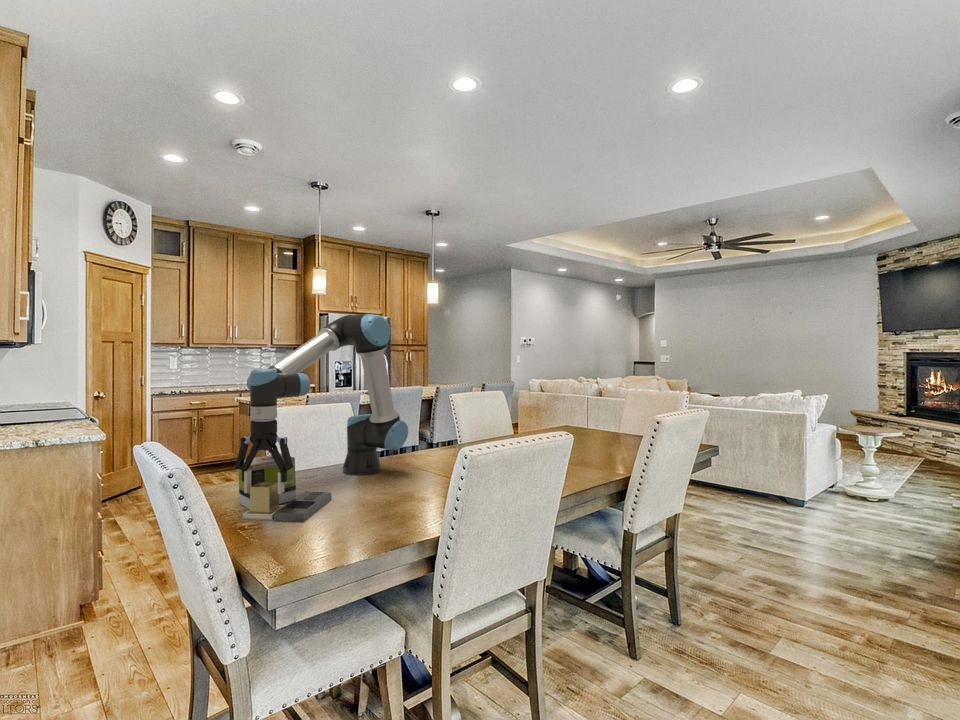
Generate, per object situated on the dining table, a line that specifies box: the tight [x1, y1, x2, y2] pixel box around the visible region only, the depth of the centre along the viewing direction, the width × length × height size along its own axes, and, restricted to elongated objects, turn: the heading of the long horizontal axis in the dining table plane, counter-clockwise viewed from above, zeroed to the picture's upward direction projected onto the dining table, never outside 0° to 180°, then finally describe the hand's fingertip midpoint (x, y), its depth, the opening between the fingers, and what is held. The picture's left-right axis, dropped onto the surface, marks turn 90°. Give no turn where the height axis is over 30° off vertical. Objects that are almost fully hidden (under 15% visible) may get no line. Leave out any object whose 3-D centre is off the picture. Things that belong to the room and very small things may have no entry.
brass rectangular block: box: [249, 481, 280, 514], centre depth 159 cm, size 6×6×10 cm
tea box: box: [238, 453, 297, 510], centre depth 171 cm, size 15×10×15 cm
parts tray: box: [242, 504, 285, 521], centre depth 159 cm, size 9×9×2 cm
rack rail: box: [273, 490, 333, 523], centre depth 164 cm, size 22×9×3 cm, turn 175°
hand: (264, 492), depth 159 cm, fingers open, 10 cm apart
